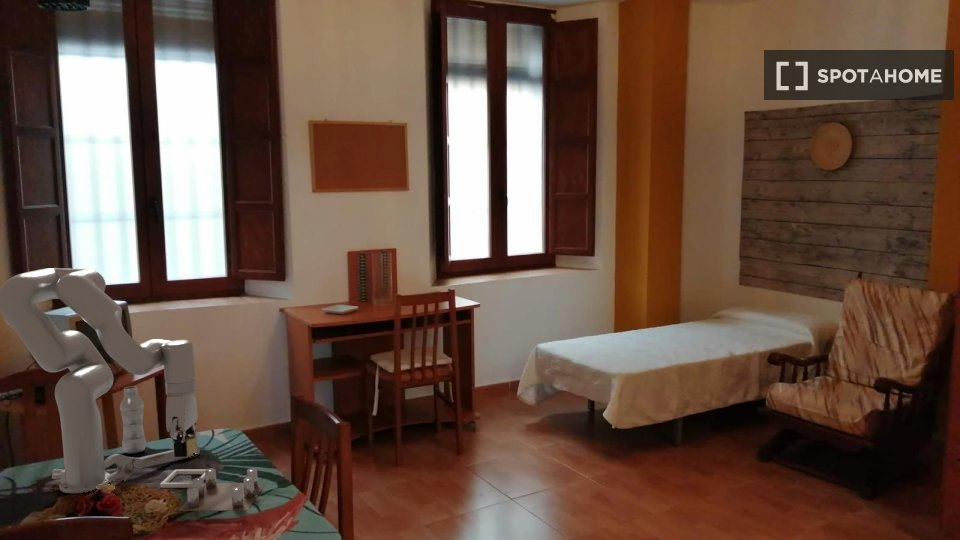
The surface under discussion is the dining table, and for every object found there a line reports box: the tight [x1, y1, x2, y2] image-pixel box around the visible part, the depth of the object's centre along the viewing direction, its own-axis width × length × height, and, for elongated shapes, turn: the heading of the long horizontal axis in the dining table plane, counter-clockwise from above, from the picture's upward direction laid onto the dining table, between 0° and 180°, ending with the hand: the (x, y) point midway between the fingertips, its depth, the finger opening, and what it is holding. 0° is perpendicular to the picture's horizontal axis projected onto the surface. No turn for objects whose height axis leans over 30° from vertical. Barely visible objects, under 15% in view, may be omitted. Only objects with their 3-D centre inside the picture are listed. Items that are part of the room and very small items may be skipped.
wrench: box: [102, 445, 201, 482], centre depth 214 cm, size 8×2×30 cm
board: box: [177, 482, 267, 512], centre depth 194 cm, size 17×17×1 cm
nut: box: [172, 433, 198, 456], centre depth 203 cm, size 6×6×4 cm
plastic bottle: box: [119, 385, 147, 455], centre depth 227 cm, size 6×7×20 cm
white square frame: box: [159, 468, 208, 489], centre depth 204 cm, size 10×10×2 cm
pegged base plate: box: [186, 467, 259, 509], centre depth 194 cm, size 16×15×4 cm
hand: (185, 451), depth 203 cm, fingers closed on nut, 5 cm apart
